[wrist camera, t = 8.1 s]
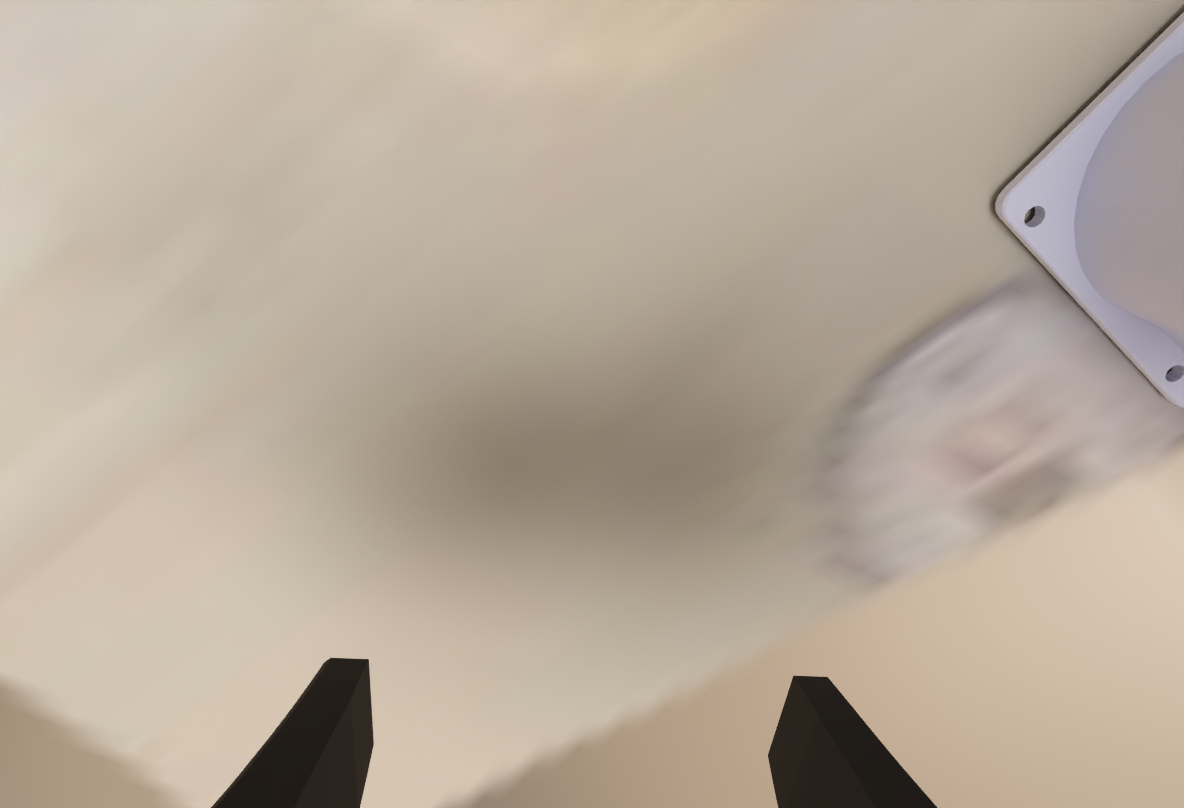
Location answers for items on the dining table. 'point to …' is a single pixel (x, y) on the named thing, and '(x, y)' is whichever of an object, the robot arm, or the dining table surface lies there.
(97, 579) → the dining table surface
